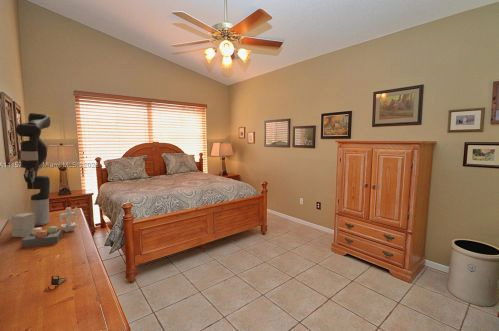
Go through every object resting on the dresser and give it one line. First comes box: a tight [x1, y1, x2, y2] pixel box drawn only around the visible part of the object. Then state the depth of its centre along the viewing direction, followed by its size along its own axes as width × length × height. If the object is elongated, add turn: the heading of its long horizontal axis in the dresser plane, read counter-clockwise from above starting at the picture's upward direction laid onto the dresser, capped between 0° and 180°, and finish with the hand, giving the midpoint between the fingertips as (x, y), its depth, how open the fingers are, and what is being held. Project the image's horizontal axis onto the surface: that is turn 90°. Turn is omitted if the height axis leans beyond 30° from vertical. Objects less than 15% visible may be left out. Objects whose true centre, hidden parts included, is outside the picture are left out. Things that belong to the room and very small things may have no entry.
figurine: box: [58, 206, 79, 233], centre depth 154 cm, size 7×9×15 cm
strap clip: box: [50, 274, 68, 286], centre depth 96 cm, size 8×3×4 cm, turn 179°
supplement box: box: [11, 212, 36, 238], centre depth 143 cm, size 7×7×13 cm
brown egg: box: [37, 229, 48, 238], centre depth 134 cm, size 4×4×6 cm
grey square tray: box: [21, 228, 63, 248], centre depth 137 cm, size 14×15×4 cm
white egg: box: [32, 227, 43, 235], centre depth 137 cm, size 4×4×6 cm
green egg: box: [47, 225, 58, 233], centre depth 141 cm, size 4×4×6 cm
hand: (30, 188), depth 139 cm, fingers closed
